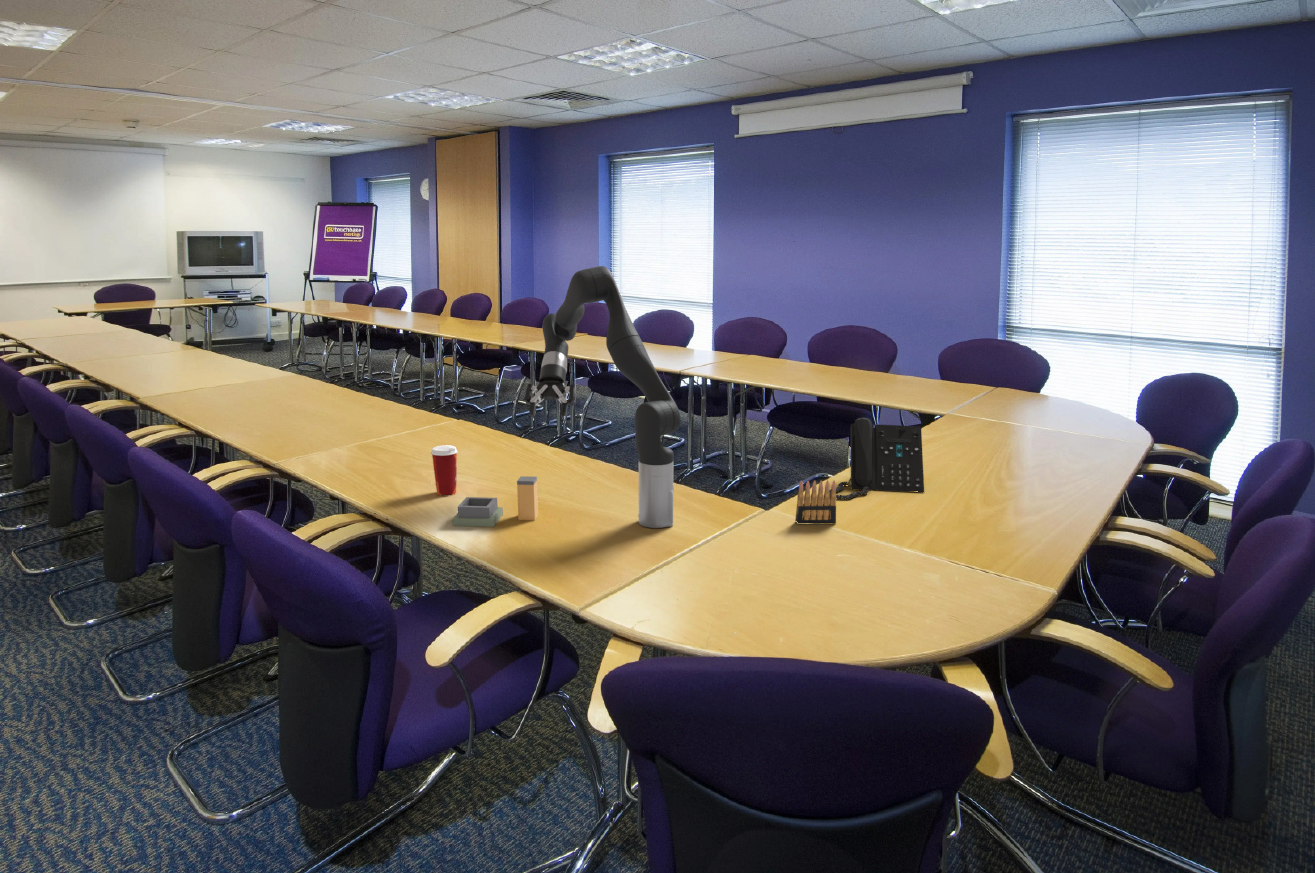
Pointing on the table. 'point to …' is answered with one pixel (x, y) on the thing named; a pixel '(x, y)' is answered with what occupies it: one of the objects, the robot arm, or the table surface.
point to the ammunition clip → (816, 504)
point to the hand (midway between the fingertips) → (547, 416)
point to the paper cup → (445, 469)
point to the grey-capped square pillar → (527, 498)
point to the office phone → (884, 458)
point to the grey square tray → (478, 512)
